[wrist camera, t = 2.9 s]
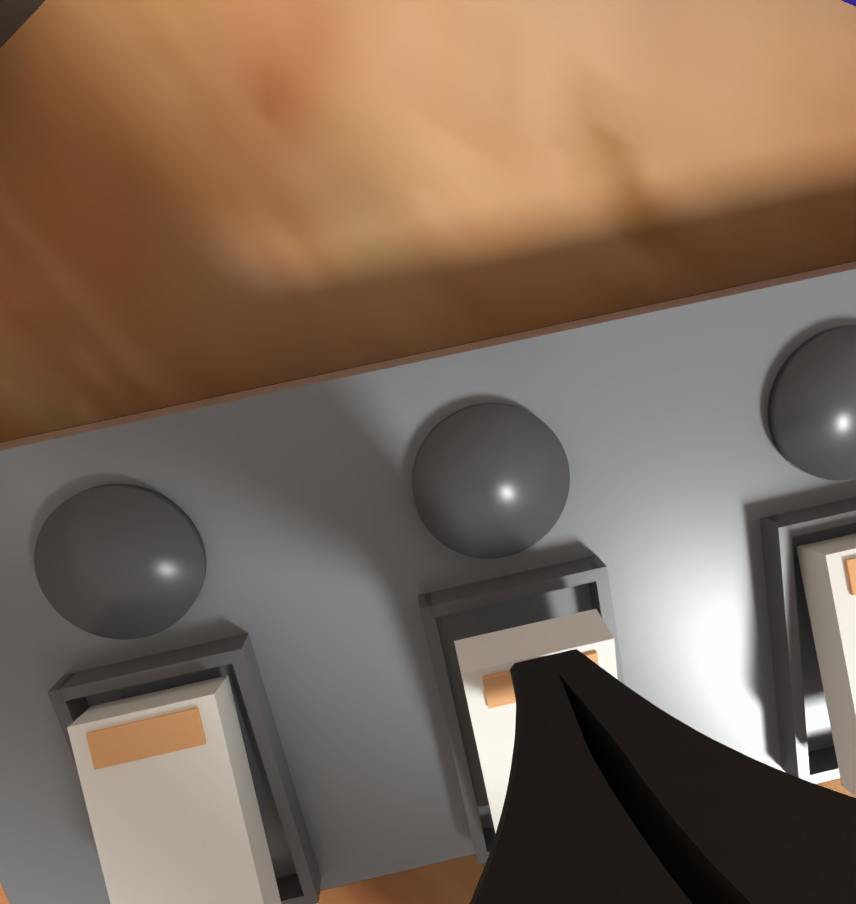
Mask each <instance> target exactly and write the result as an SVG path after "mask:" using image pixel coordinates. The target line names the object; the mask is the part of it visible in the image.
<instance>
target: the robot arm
mask: <svg viewBox="0 0 856 904" xmlns="http://www.w3.org/2000/svg"><path fill="white" fill-rule="evenodd" d="M510 673H511V679H512V684H513V689H514V694H515V699H516V722H515V740H514V748H513V755H512V763H511V770H510V776H509V781H508V787H507V792H506V796H505V800H504V805H503V809H502V813H501V817H500V820H499V824H498V827H497V831H496V834H495V837H494V841H493V844H492V847H491V850H490V853H489V856H488V859H487V862H486V865H485V868H484V870H483V873H482V875H481V877H480V880H479V882H478V885H477V887H476V890H475V892H474V895H473V897H472V900H471V902H470V904H856V798H854V797H850V796H847V795H844V794H842V793H839V792H836V791H833V790H830V789H827V788H824V787H822V786H819V785H816V784H813V783H811V782H808V781H806V780H803V779H801V778H798V777H796V776H793V775H791V774H788V773H786V772H783V771H781V770H778V769H776V768H773V767H771V766H769V765H766V764H764V763H762V762H759V761H757V760H755V759H753V758H750V757H748V756H746V755H744V754H742V753H740V752H738V751H736V750H734V749H732V748H730V747H728V746H726V745H724V744H722V743H720V742H718V741H715V740H713V739H712V738H710V737H708V736H706V735H704V734H702V733H700V732H698V731H697V730H695V729H693V728H691V727H690V726H688V725H686V724H685V723H683V722H681V721H680V720H678V719H676V718H674V717H673V716H671V715H669V714H668V713H666V712H665V711H663V710H661V709H660V708H658V707H657V706H655V705H654V704H652V703H651V702H649V701H648V700H646V699H645V698H643V697H642V696H640V695H639V694H637V693H636V692H634V691H633V690H632V689H630V688H629V687H627V686H626V685H625V684H623V683H622V682H620V681H619V680H618V679H616V678H615V677H614V676H612V675H611V674H609V673H608V672H607V671H605V670H604V669H603V668H601V667H600V666H599V665H597V664H596V663H595V662H594V661H592V660H591V659H590V658H588V657H587V656H586V655H584V654H583V653H581V652H580V651H579V650H577V649H574V650H569V651H565V652H561V653H556V654H552V655H548V656H543V657H539V658H535V659H530V660H526V661H521V662H517V663H514V665H513V666H512V667H511V669H510Z"/></svg>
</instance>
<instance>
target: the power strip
mask: <svg viewBox="0 0 856 904" xmlns="http://www.w3.org/2000/svg"><path fill="white" fill-rule="evenodd" d="M854 533H856V261H855V262H850V263H845V264H840V265H836V266H831V267H826V268H822V269H817V270H812V271H807V272H803V273H798V274H793V275H789V276H784V277H779V278H774V279H770V280H765V281H760V282H756V283H751V284H746V285H741V286H737V287H732V288H727V289H723V290H718V291H713V292H708V293H704V294H699V295H694V296H690V297H685V298H680V299H675V300H671V301H666V302H661V303H656V304H652V305H647V306H642V307H638V308H633V309H628V310H623V311H619V312H614V313H609V314H605V315H600V316H595V317H590V318H586V319H581V320H576V321H572V322H567V323H562V324H557V325H553V326H548V327H543V328H539V329H534V330H529V331H524V332H520V333H515V334H510V335H506V336H501V337H496V338H491V339H487V340H482V341H477V342H473V343H468V344H463V345H458V346H454V347H449V348H444V349H440V350H435V351H430V352H425V353H421V354H416V355H411V356H407V357H402V358H397V359H392V360H388V361H383V362H378V363H374V364H369V365H364V366H359V367H355V368H350V369H345V370H341V371H336V372H331V373H326V374H322V375H317V376H312V377H307V378H303V379H298V380H293V381H289V382H284V383H279V384H274V385H270V386H265V387H260V388H256V389H251V390H246V391H241V392H237V393H232V394H227V395H223V396H218V397H213V398H208V399H204V400H199V401H194V402H190V403H185V404H180V405H175V406H171V407H166V408H161V409H157V410H152V411H147V412H142V413H138V414H133V415H128V416H124V417H119V418H114V419H109V420H105V421H100V422H95V423H91V424H86V425H81V426H76V427H72V428H67V429H62V430H58V431H53V432H48V433H43V434H39V435H34V436H29V437H25V438H20V439H15V440H10V441H6V442H1V443H0V883H1V885H2V887H3V889H4V892H5V894H6V896H7V898H8V901H9V903H10V904H110V900H109V896H108V892H107V888H106V884H105V880H104V875H103V871H102V867H101V863H100V859H99V855H98V851H97V847H96V843H95V839H94V835H93V831H92V827H91V823H90V819H89V815H88V811H87V807H86V803H85V798H84V794H83V790H82V786H81V782H80V778H79V774H78V770H77V766H76V762H75V758H74V754H73V750H72V746H71V742H70V738H69V734H68V730H67V727H68V726H69V725H70V724H72V723H73V722H74V721H75V720H76V719H77V718H78V717H79V716H81V715H82V714H83V713H84V712H85V711H86V710H87V709H89V708H90V707H91V706H94V705H98V704H103V703H107V702H112V701H116V700H121V699H125V698H129V697H134V696H138V695H143V694H147V693H151V692H156V691H160V690H165V689H169V688H174V687H178V686H182V685H187V684H191V683H196V682H200V681H204V680H209V679H213V678H218V677H222V676H227V675H228V677H229V682H230V686H231V690H232V695H233V699H234V703H235V707H236V712H237V716H238V720H239V724H240V729H241V733H242V737H243V742H244V746H245V750H246V754H247V759H248V763H249V767H250V771H251V776H252V780H253V784H254V789H255V793H256V797H257V801H258V806H259V810H260V814H261V818H262V823H263V827H264V831H265V836H266V840H267V844H268V848H269V853H270V857H271V861H272V865H273V870H274V874H275V878H276V883H277V887H278V891H279V895H280V900H281V904H315V903H319V895H320V891H322V890H326V889H330V888H334V887H338V886H343V885H347V884H351V883H355V882H359V881H364V880H368V879H372V878H376V877H380V876H385V875H389V874H393V873H397V872H401V871H406V870H410V869H414V868H418V867H422V866H427V865H431V864H435V863H439V862H443V861H448V860H452V859H456V858H460V857H464V856H468V855H473V854H475V855H476V859H477V863H478V864H482V863H486V862H487V859H488V856H489V853H490V850H491V847H492V844H493V841H494V837H495V830H494V825H493V821H492V816H491V811H490V807H489V802H488V797H487V793H486V788H485V783H484V779H483V774H482V770H481V765H480V760H479V756H478V751H477V746H476V742H475V737H474V732H473V728H472V723H471V718H470V714H469V709H468V704H467V700H466V695H465V690H464V686H463V681H462V676H461V672H460V667H459V662H458V658H457V653H456V648H455V644H454V641H456V640H460V639H465V638H469V637H474V636H478V635H482V634H487V633H491V632H496V631H500V630H504V629H509V628H513V627H518V626H522V625H526V624H531V623H535V622H540V621H544V620H548V619H553V618H557V617H562V616H566V615H570V614H575V613H579V612H584V611H588V610H593V609H597V611H598V612H599V614H600V616H601V617H602V619H603V621H604V622H605V624H606V626H607V627H608V629H609V631H610V632H611V634H612V636H613V637H614V642H615V654H616V665H617V677H618V680H619V681H620V682H622V683H623V684H625V685H626V686H627V687H629V688H630V689H632V690H633V691H634V692H636V693H637V694H639V695H640V696H642V697H643V698H645V699H646V700H648V701H649V702H651V703H652V704H654V705H655V706H657V707H658V708H660V709H661V710H663V711H665V712H666V713H668V714H669V715H671V716H673V717H674V718H676V719H678V720H680V721H681V722H683V723H685V724H686V725H688V726H690V727H691V728H693V729H695V730H697V731H698V732H700V733H702V734H704V735H706V736H708V737H710V738H712V739H713V740H715V741H718V742H720V743H722V744H724V745H726V746H728V747H730V748H732V749H734V750H736V751H738V752H740V753H742V754H744V755H746V756H748V757H750V758H753V759H755V760H757V761H759V762H762V763H764V764H766V765H769V766H771V767H773V768H776V769H778V770H781V771H783V772H786V773H788V774H791V775H793V776H796V777H798V778H801V779H803V780H806V781H808V782H811V783H813V784H817V783H821V782H825V781H829V780H833V779H838V778H840V773H839V768H838V763H837V758H836V752H835V747H834V742H833V737H832V731H831V726H830V721H829V716H828V710H827V705H826V700H825V695H824V689H823V684H822V679H821V674H820V668H819V663H818V658H817V653H816V647H815V642H814V637H813V632H812V626H811V621H810V616H809V611H808V605H807V600H806V595H805V590H804V584H803V579H802V574H801V569H800V563H799V558H798V553H797V548H796V547H797V546H801V545H805V544H810V543H814V542H819V541H823V540H827V539H832V538H836V537H841V536H845V535H850V534H854Z"/></svg>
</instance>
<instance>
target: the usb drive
mask: <svg viewBox="0 0 856 904" xmlns="http://www.w3.org/2000/svg"><path fill="white" fill-rule="evenodd" d="M44 1H45V0H0V47H1V46H2V45H3V44H4V43H5V42H6V41H7V40H8V39H9V38H10V37H11V36H12V35H13V34H14V33H15V32H16V31H17V30H18V29H19V28H20V27H21V25H22V24H23V23H24V22H25V21H26V20H27V19H28V18H29V17H30V16H31V15H32V14H33V13H34V12H35V11H36V10H37V9H38V7H39V6H40V5H41V4H42V3H43V2H44Z"/></svg>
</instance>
